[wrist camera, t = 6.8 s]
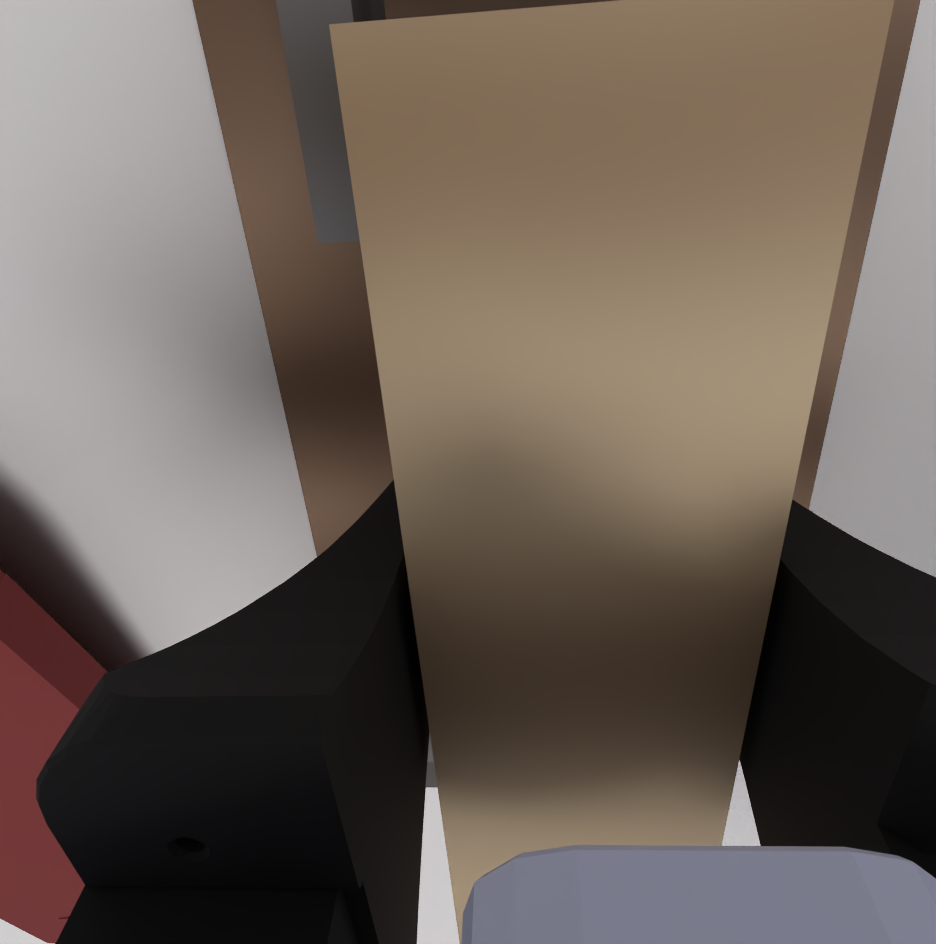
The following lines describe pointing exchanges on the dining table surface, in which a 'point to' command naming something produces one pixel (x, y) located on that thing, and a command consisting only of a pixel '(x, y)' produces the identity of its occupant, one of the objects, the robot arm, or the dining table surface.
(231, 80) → the bracket board
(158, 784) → the robot arm
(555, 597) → the rail
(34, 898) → the red long flat piece
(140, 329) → the dining table surface
